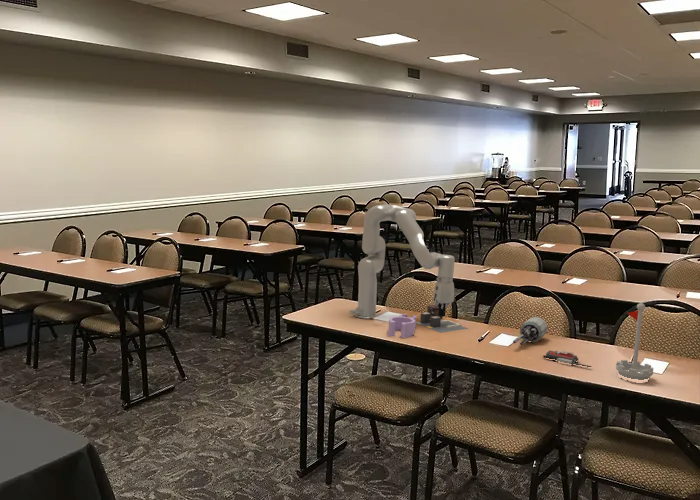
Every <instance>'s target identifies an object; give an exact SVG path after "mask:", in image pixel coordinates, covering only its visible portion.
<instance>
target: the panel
mask: <svg viewBox="0 0 700 500" xmlns="http://www.w3.org/2000/svg"><path fill="white" fill-rule="evenodd" d="M416 325H419V326H421V327H424V328H426V329H429V330H432V331H434V332H437V333H448V332H449V333H450V332H455V331H461V330H469V328H468V327H465V326H462V324H460V323H457V322H455V321H452V320H449V319H446V320H444V319H443V318H442V319H441V323H440V327H432V326H430V322H428V323H423V322H420V321H416Z"/></svg>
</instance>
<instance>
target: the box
mask: <svg viewBox="0 0 700 500" xmlns="http://www.w3.org/2000/svg"><path fill="white" fill-rule="evenodd" d="M427 312H428V313H430V314H431V317H434V316H438V317H440V318H441V319H442V320H443V317H442V316H439V315H438V314H439V308H438V306H437V305H434V304H431V305H427Z"/></svg>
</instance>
